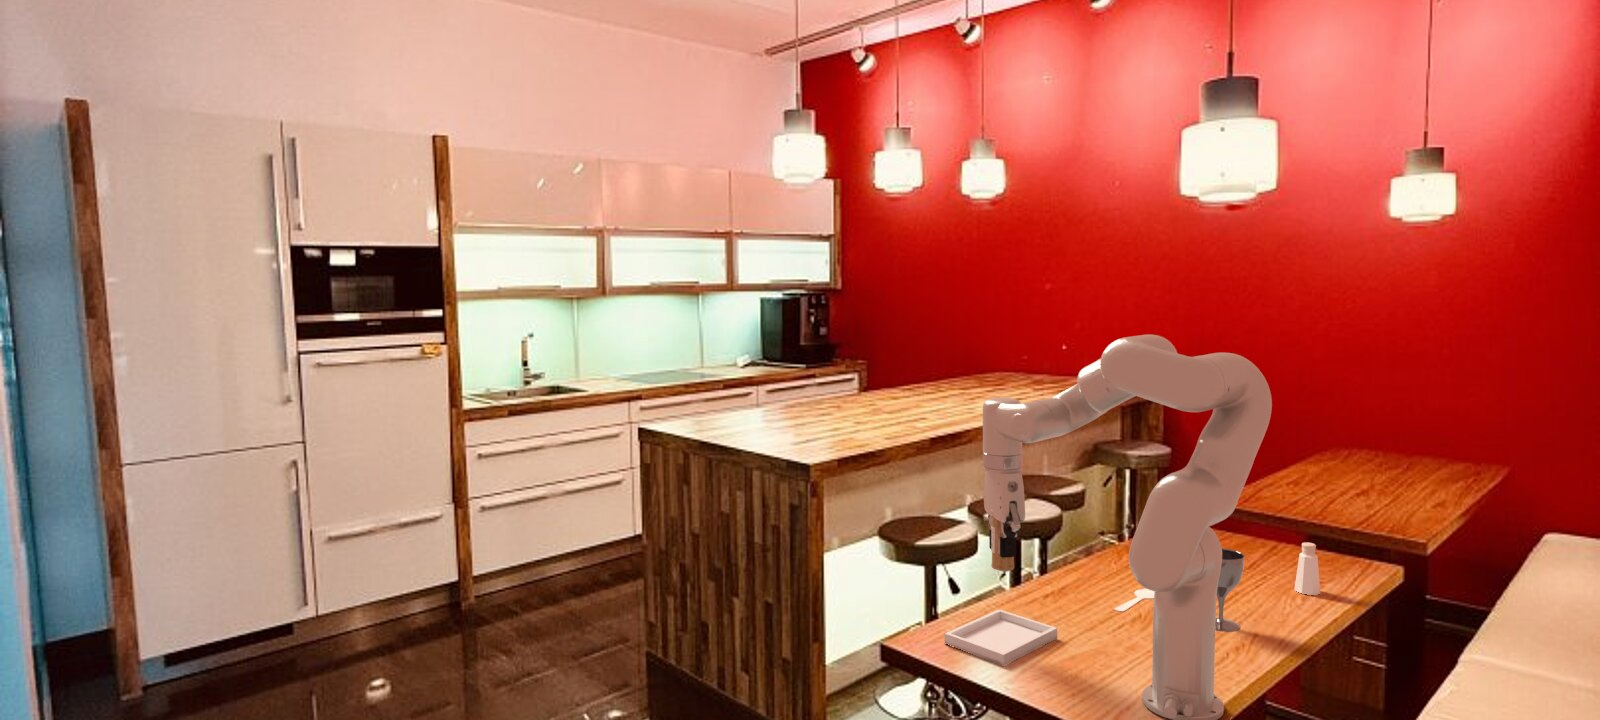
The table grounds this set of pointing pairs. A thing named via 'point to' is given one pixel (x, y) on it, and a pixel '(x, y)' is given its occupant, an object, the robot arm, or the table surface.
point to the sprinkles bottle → (998, 561)
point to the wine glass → (1228, 585)
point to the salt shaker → (1308, 571)
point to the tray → (1001, 636)
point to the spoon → (1136, 599)
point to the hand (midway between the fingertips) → (1002, 551)
